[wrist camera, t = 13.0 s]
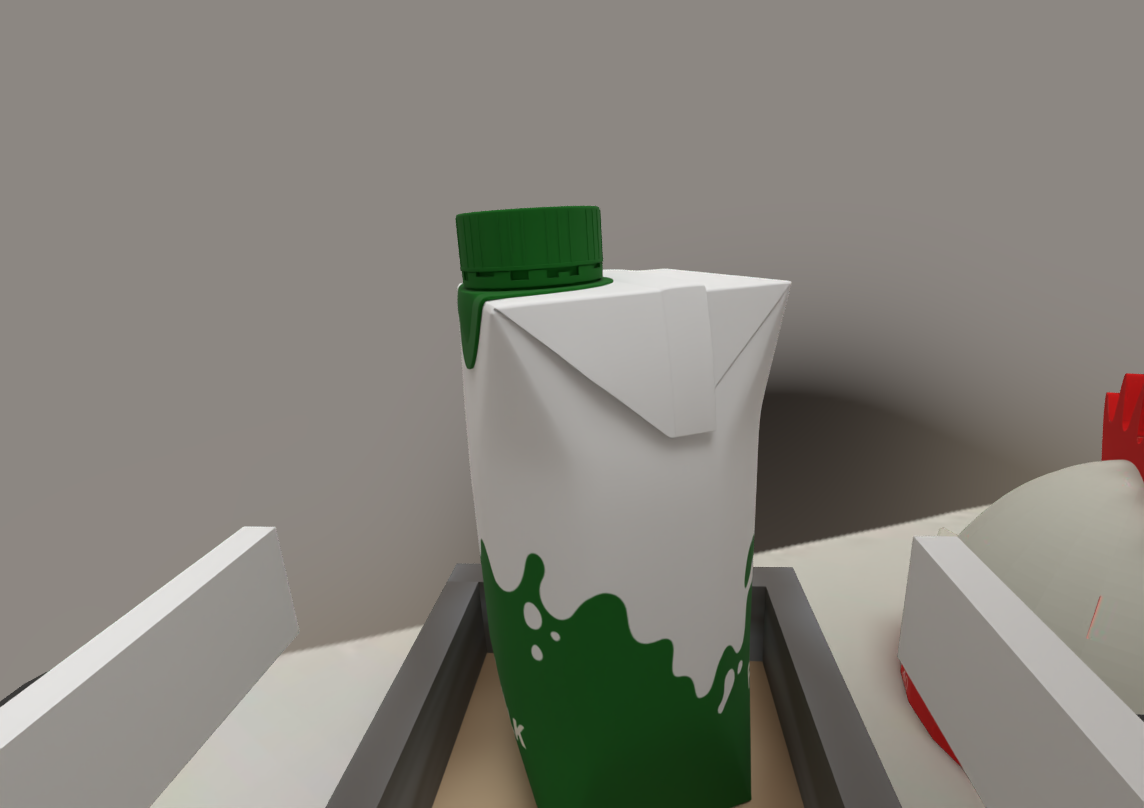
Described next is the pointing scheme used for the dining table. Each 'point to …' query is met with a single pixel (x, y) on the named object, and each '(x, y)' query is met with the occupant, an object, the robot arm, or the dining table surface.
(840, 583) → the dining table surface
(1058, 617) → the kitchen timer
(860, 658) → the dining table surface
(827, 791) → the dock
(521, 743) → the soya milk
